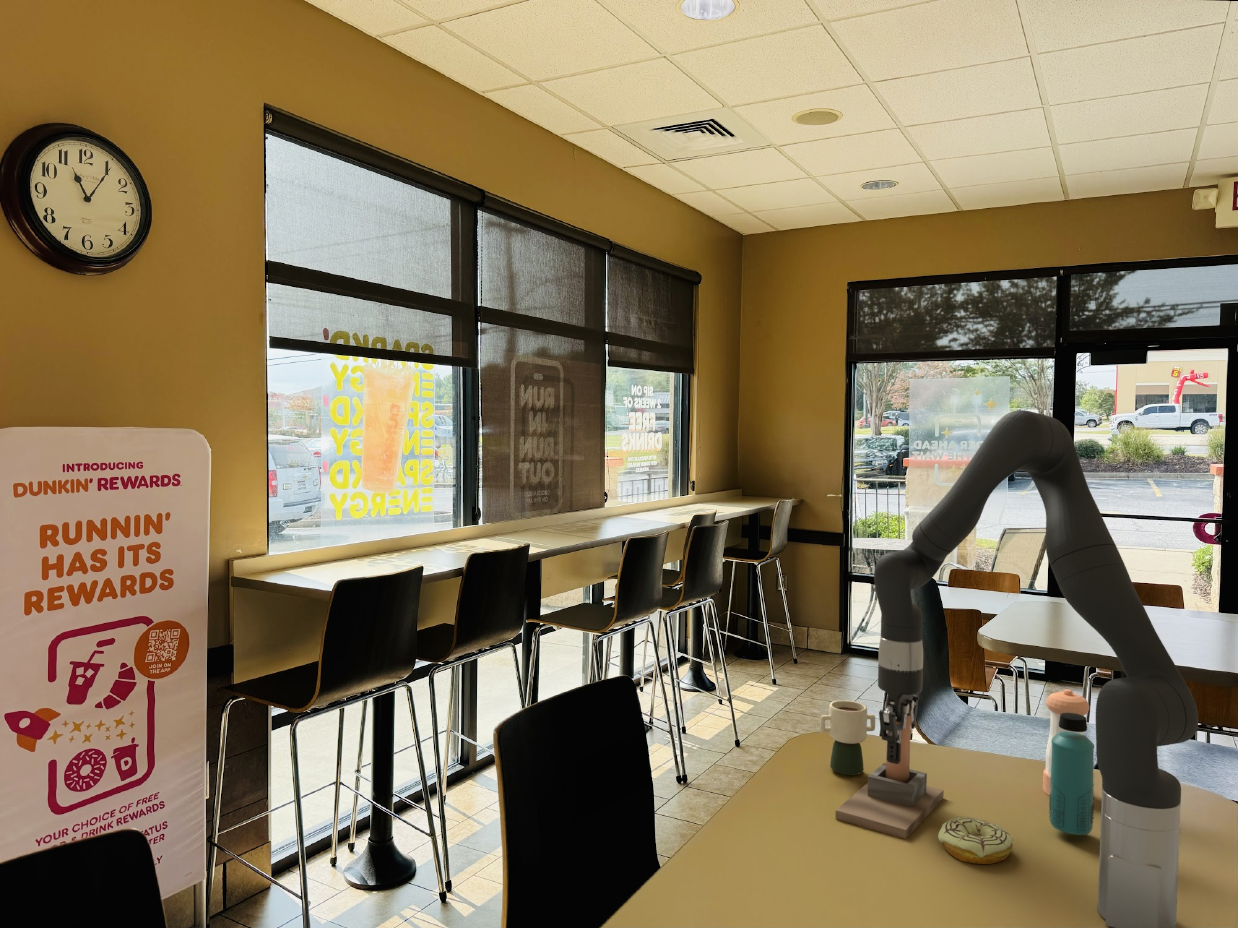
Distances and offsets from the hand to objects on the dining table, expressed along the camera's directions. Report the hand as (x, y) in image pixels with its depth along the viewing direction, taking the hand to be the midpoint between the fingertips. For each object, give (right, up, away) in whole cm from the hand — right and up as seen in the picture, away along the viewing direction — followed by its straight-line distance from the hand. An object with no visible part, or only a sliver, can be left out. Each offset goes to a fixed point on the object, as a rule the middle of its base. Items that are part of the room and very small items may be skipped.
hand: (898, 758), depth 158 cm
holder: (-2, -8, -2) cm, 9 cm away
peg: (0, -4, 0) cm, 4 cm away
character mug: (-6, -7, +14) cm, 17 cm away
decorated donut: (+7, -9, -17) cm, 21 cm away
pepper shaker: (+32, -8, +5) cm, 33 cm away
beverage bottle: (+25, -9, -12) cm, 29 cm away
